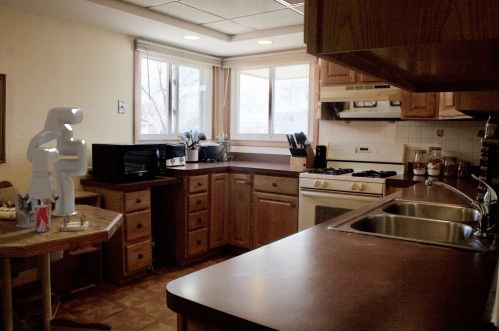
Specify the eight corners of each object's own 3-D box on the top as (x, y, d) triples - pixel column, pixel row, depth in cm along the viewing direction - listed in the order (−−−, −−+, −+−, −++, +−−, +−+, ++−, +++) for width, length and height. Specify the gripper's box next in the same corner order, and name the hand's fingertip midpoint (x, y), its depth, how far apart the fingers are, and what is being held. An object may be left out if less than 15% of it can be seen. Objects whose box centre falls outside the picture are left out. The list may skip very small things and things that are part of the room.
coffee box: (40, 225, 209) (39, 193, 207) (29, 228, 203) (28, 195, 201) (26, 224, 212) (25, 192, 210) (15, 226, 206) (14, 194, 204)
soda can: (46, 232, 195) (45, 207, 194) (31, 232, 195) (30, 207, 194) (53, 229, 202) (53, 204, 201) (39, 228, 202) (38, 204, 201)
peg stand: (65, 225, 209) (64, 214, 209) (88, 225, 212) (88, 213, 211) (61, 231, 199) (60, 218, 198) (85, 230, 201) (85, 217, 201)
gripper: (62, 173, 202) (62, 208, 203) (22, 174, 198) (23, 210, 199) (59, 175, 195) (60, 211, 196) (18, 175, 191) (19, 212, 192)
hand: (41, 210), depth 197 cm, fingers open, 9 cm apart
